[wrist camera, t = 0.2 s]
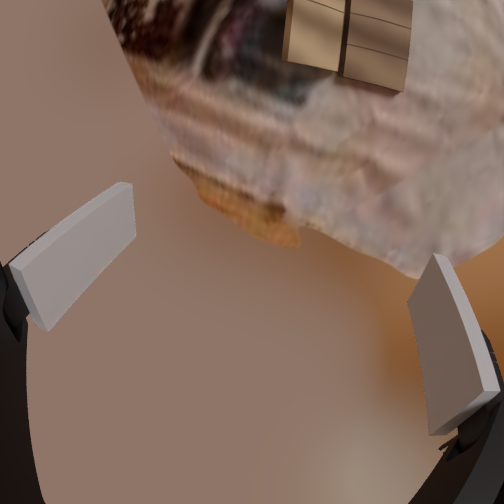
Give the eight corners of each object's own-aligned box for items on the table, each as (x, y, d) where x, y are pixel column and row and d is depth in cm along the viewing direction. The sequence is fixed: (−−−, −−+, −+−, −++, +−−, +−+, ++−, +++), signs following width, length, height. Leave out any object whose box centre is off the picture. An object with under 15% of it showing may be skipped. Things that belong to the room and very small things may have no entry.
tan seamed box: (290, -31, 19) (297, -33, 18) (341, -12, 22) (348, -13, 22) (281, 61, 26) (287, 61, 25) (333, 71, 29) (340, 72, 28)
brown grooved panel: (347, -14, 22) (348, -17, 21) (410, 3, 21) (413, 0, 20) (338, 76, 29) (338, 75, 28) (400, 91, 28) (403, 92, 27)
